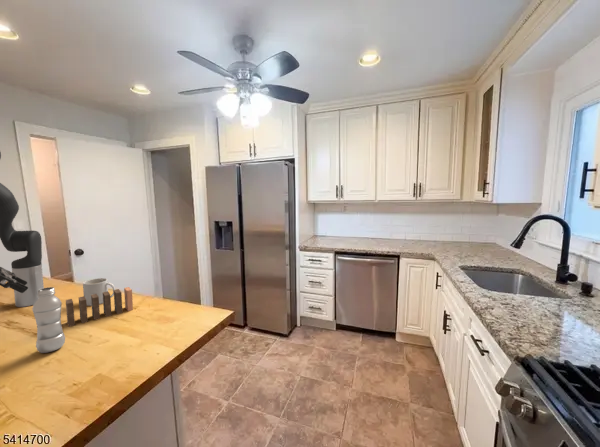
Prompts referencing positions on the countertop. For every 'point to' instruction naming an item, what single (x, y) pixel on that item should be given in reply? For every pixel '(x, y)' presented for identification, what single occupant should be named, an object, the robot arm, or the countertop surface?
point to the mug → (96, 289)
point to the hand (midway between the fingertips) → (25, 287)
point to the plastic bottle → (48, 321)
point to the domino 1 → (70, 312)
